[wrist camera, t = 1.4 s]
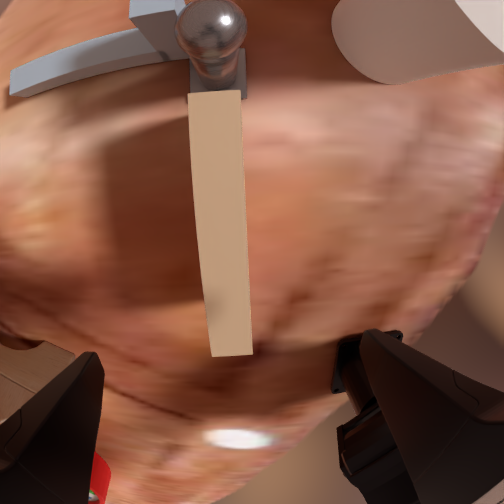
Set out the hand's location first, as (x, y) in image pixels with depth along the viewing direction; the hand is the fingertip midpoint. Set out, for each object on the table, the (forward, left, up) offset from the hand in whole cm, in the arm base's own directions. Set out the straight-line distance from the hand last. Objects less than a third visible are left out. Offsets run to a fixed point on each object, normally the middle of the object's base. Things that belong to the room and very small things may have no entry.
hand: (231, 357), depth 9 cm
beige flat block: (+2, 0, -12) cm, 12 cm away
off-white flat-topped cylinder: (+15, -12, -13) cm, 23 cm away
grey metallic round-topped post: (+11, 0, -13) cm, 17 cm away
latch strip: (+14, +9, -13) cm, 21 cm away
